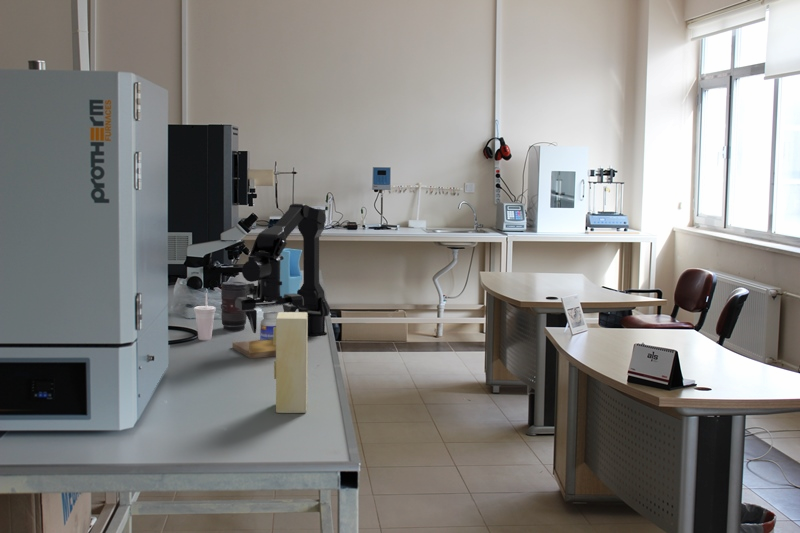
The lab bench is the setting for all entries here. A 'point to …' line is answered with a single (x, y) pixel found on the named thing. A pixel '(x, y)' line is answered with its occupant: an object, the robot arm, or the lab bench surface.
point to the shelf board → (256, 348)
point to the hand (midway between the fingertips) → (269, 331)
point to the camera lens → (232, 306)
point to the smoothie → (204, 320)
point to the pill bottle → (268, 325)
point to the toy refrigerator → (291, 361)
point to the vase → (290, 271)
